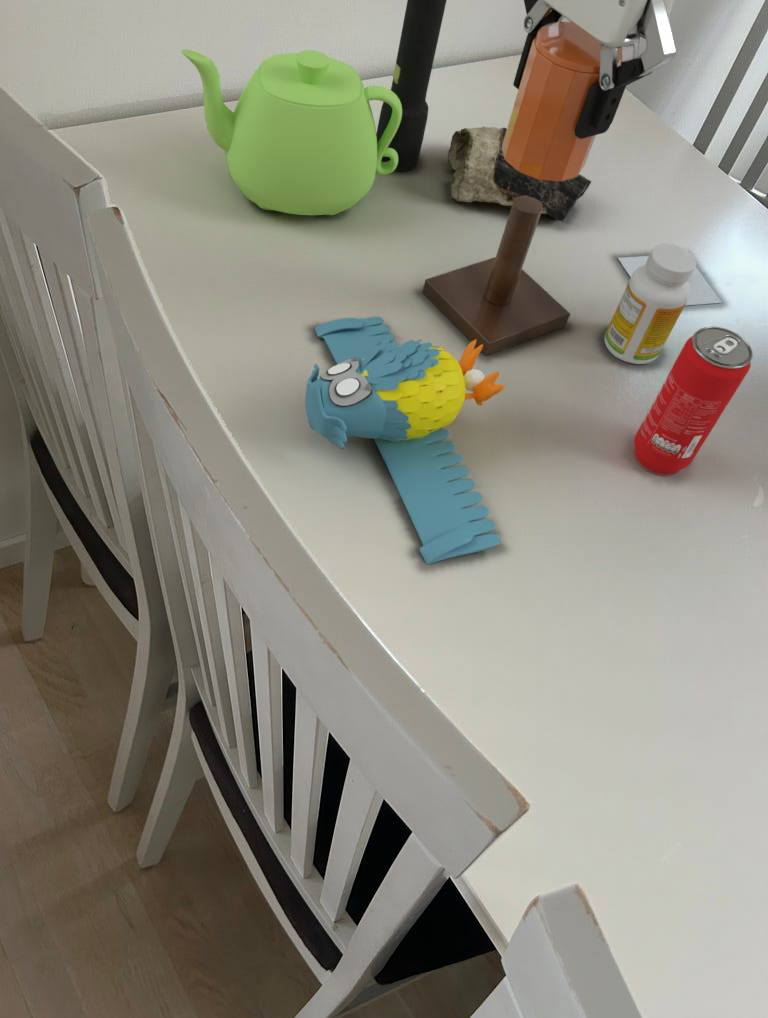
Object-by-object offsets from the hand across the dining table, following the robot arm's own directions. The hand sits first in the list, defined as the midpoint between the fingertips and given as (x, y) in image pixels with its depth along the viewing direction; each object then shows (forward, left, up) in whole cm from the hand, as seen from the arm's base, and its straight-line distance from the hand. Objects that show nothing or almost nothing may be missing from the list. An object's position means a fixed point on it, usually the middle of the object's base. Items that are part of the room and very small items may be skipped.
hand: (559, 107), depth 79 cm
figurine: (-20, +4, -20) cm, 28 cm away
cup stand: (0, 0, -19) cm, 19 cm away
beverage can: (-1, +22, -20) cm, 30 cm away
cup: (0, 0, -4) cm, 4 cm away
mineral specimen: (-15, -15, -20) cm, 29 cm away
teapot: (+8, -25, -20) cm, 33 cm away
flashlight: (-6, -25, -20) cm, 32 cm away
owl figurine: (+19, +9, -20) cm, 29 cm away
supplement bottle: (-9, +10, -20) cm, 24 cm away
